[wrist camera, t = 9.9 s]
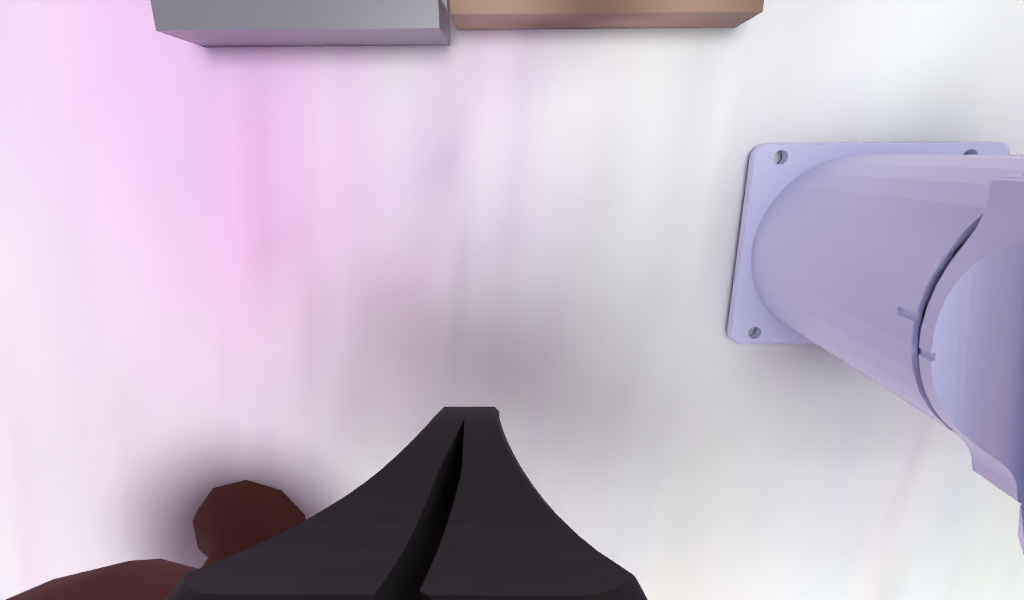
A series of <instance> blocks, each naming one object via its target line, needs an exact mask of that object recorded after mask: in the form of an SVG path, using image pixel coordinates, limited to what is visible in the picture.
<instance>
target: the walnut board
mask: <svg viewBox="0 0 1024 600" xmlns="http://www.w3.org/2000/svg"><path fill="white" fill-rule="evenodd" d="M763 4H764V0H450V15H451V17H452V19H453V21H454V23H455V25H456V27H457V29H458V30H465V29H579V28H693V27H737V26H738V25H740V24H742V23H744V22H745V21H747V20H749V19H751V18H752V17H754V16H756V15H758V14H759V13H761V12H763Z"/></svg>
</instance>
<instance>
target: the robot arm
mask: <svg viewBox="0 0 1024 600" xmlns="http://www.w3.org/2000/svg"><path fill="white" fill-rule="evenodd" d="M778 151H780V152H781V153H782V157H783V158H782V160H781V162H779V163H778V164H776V163H775V162H774V155H775V153H777V152H778ZM966 151H967V152H968V155H964V153H965V152H966ZM753 327H757V330H756V333H754V334H753V335H750V336H749V334H748V333H749V330H750V329H751V328H753ZM727 334H728V336H729V338H730V339H731V340H733V341H734V342H736V343H739V344H817V345H819V346H820V347H822V348H823V349H825V350H826V351H828V352H830V353H831V354H833V355H834V356H836V357H837V358H839V359H841V360H842V361H844V362H845V363H847V364H848V365H850V366H852V367H853V368H855V369H856V370H858V371H859V372H861V373H862V374H864V375H866V376H867V377H869V378H870V379H872V380H873V381H875V382H877V383H878V384H880V385H881V386H883V387H884V388H886V389H888V390H889V391H891V392H892V393H894V394H895V395H897V396H898V397H900V398H902V399H903V400H905V401H906V402H908V403H909V404H911V405H913V406H914V407H916V408H917V409H919V410H920V411H922V412H923V413H925V414H927V415H928V416H930V417H931V418H933V419H934V420H936V421H938V422H939V423H941V424H942V425H944V426H945V427H947V428H949V429H950V430H952V431H954V432H955V433H957V434H958V435H959V436H960V437H961V438H962V439H963V440H964V441H965V443H966V444H967V446H968V448H969V450H970V453H971V456H972V468H973V470H974V471H975V472H976V473H978V474H979V475H981V476H982V477H984V478H985V479H986V480H988V481H989V482H991V483H992V484H994V485H995V486H996V487H998V488H999V489H1001V490H1002V491H1004V492H1005V493H1006V494H1008V495H1009V496H1011V497H1012V498H1014V499H1015V500H1017V501H1018V502H1020V503H1023V504H1022V505H1021V506H1020V515H1019V527H1018V536H1019V540H1020V544H1021V548H1022V551H1023V554H1024V155H1010V149H1009V147H1008V146H1007V145H1006V144H1005V143H1002V142H940V143H776V144H761V145H758V146H757V147H755V148H754V150H753V151H752V152H751V155H750V159H749V167H748V174H747V182H746V190H745V197H744V205H743V213H742V220H741V228H740V236H739V243H738V251H737V259H736V266H735V274H734V282H733V289H732V297H731V305H730V312H729V320H728V328H727ZM164 600H647V598H646V596H645V594H644V592H643V590H642V588H641V586H640V585H639V583H638V581H637V579H636V578H635V576H634V575H633V574H631V573H630V572H628V571H627V570H625V569H624V568H622V567H621V566H619V565H618V564H616V563H615V562H613V561H612V560H610V559H609V558H607V557H606V556H604V555H603V554H601V553H600V552H598V551H597V550H596V549H594V548H593V547H592V546H591V545H589V544H588V543H587V542H586V541H584V540H583V539H582V538H581V537H579V536H578V535H577V534H576V533H575V532H574V531H573V530H572V529H571V528H570V527H569V526H568V525H567V524H566V523H565V522H564V521H563V520H562V519H561V518H560V517H559V516H558V515H557V514H556V513H555V512H554V511H553V510H552V509H551V507H550V506H549V505H548V504H547V503H546V502H545V500H544V499H543V498H542V497H541V495H540V494H539V493H538V492H537V490H536V489H535V488H534V486H533V485H532V483H531V482H530V480H529V479H528V478H527V476H526V474H525V473H524V471H523V470H522V468H521V466H520V465H519V463H518V461H517V459H516V458H515V456H514V454H513V452H512V450H511V448H510V446H509V444H508V442H507V439H506V437H505V435H504V432H503V429H502V426H501V423H500V419H499V411H498V410H497V409H496V408H495V407H444V408H443V409H442V410H441V411H440V412H439V413H438V414H437V415H436V416H435V417H434V418H433V419H432V420H431V421H430V422H429V424H428V425H427V426H426V427H425V428H424V429H423V430H422V431H421V432H420V433H419V434H418V435H417V436H416V437H415V438H414V439H413V440H412V441H411V442H410V443H409V444H408V445H407V446H406V447H405V448H404V449H403V450H402V451H401V452H400V453H399V454H398V455H397V456H396V457H395V458H394V459H393V460H392V461H390V462H389V463H388V464H387V465H386V466H385V467H384V468H383V469H381V470H380V471H379V472H378V473H377V474H375V475H374V476H373V477H372V478H370V479H369V480H368V481H366V482H365V483H364V484H362V485H361V486H359V487H358V488H357V489H355V490H354V491H352V492H351V493H350V494H348V495H347V496H345V497H344V498H342V499H341V500H339V501H337V502H336V503H334V504H332V505H331V506H329V507H327V508H326V509H324V510H322V511H321V512H319V513H317V514H316V515H314V516H312V517H311V518H309V519H308V520H306V521H304V522H302V523H300V524H298V525H296V526H294V527H293V528H291V529H289V530H287V531H285V532H283V533H281V534H279V535H277V536H275V537H272V538H270V539H268V540H266V541H264V542H262V543H260V544H258V545H255V546H253V547H251V548H249V549H246V550H244V551H242V552H239V553H237V554H234V555H232V556H229V557H227V558H224V559H222V560H219V561H217V562H214V563H212V564H209V565H207V566H204V567H202V568H199V569H196V570H194V571H191V572H188V573H186V574H185V576H184V577H183V578H182V579H181V580H180V581H179V583H178V584H177V585H176V586H175V587H174V589H173V590H172V591H171V592H170V593H169V595H168V596H167V597H166V598H165V599H164Z"/></svg>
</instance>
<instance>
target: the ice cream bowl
mask: <svg viewBox="0 0 1024 600" xmlns="http://www.w3.org/2000/svg"><path fill="white" fill-rule="evenodd" d="M304 521H305V515H304V514H303V513H302V512H301V511H300V510H299V509H298V508H297V507H296V506H295V505H294V504H293V503H292V502H291V501H290V500H289V498H288V497H287V496H286V495H285V494H284V493H283V492H282V491H280V490H277V489H273V488H270V487H267V486H263V485H260V484H257V483H253V482H250V481H247V480H245V481H241V482H237V483H233V484H229V485H225V486H221V487H217V488H213V490H212V491H211V492H210V494H209V495H208V497H207V498H206V499H205V501H204V502H203V504H202V505H201V506H200V508H199V509H198V511H197V512H196V515H195V517H194V520H193V524H194V529H195V534H196V540H197V545H198V549H199V550H201V551H202V552H203V553H204V554H205V555H206V556H207V557H208V560H207V561H206V562H205V564H204V565H203V567H204V566H207V565H209V564H212V563H214V562H217V561H219V560H222V559H224V558H227V557H229V556H232V555H234V554H237V553H239V552H242V551H244V550H246V549H249V548H251V547H253V546H255V545H258V544H260V543H262V542H264V541H266V540H268V539H270V538H272V537H275V536H277V535H279V534H281V533H283V532H285V531H287V530H289V529H291V528H293V527H294V526H296V525H298V524H300V523H302V522H304ZM194 570H196V568H192V567H189V566H185V565H181V564H178V563H174V562H171V561H167V560H163V559H151V560H134V561H127V562H123V563H119V564H115V565H111V566H107V567H102V568H98V569H94V570H90V571H86V572H82V573H78V574H74V575H69V576H65V577H61V578H57V579H53V580H51V581H48V582H46V583H44V584H41V585H39V586H37V587H34V588H32V589H30V590H27V591H25V592H23V593H20V594H18V595H16V596H13V597H11V598H9V599H6V600H164V599H165V598H166V597H167V596H168V595H169V593H170V592H171V591H172V590H173V589H174V587H175V586H176V585H177V584H178V583H179V581H180V580H181V579H182V578H183V577H184V576H185V574H186V573H188V572H191V571H194Z"/></svg>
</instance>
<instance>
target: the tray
mask: <svg viewBox="0 0 1024 600" xmlns="http://www.w3.org/2000/svg"><path fill="white" fill-rule="evenodd" d="M151 5H152V11H153V16H154V21H155V26H156V31H159V32H162V33H165V34H168V35H171V36H174V37H177V38H180V39H183V40H186V41H188V42H191V43H194V44H197V45H200V46H203V47H268V46H387V45H450V34H449V8H448V0H151Z"/></svg>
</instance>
